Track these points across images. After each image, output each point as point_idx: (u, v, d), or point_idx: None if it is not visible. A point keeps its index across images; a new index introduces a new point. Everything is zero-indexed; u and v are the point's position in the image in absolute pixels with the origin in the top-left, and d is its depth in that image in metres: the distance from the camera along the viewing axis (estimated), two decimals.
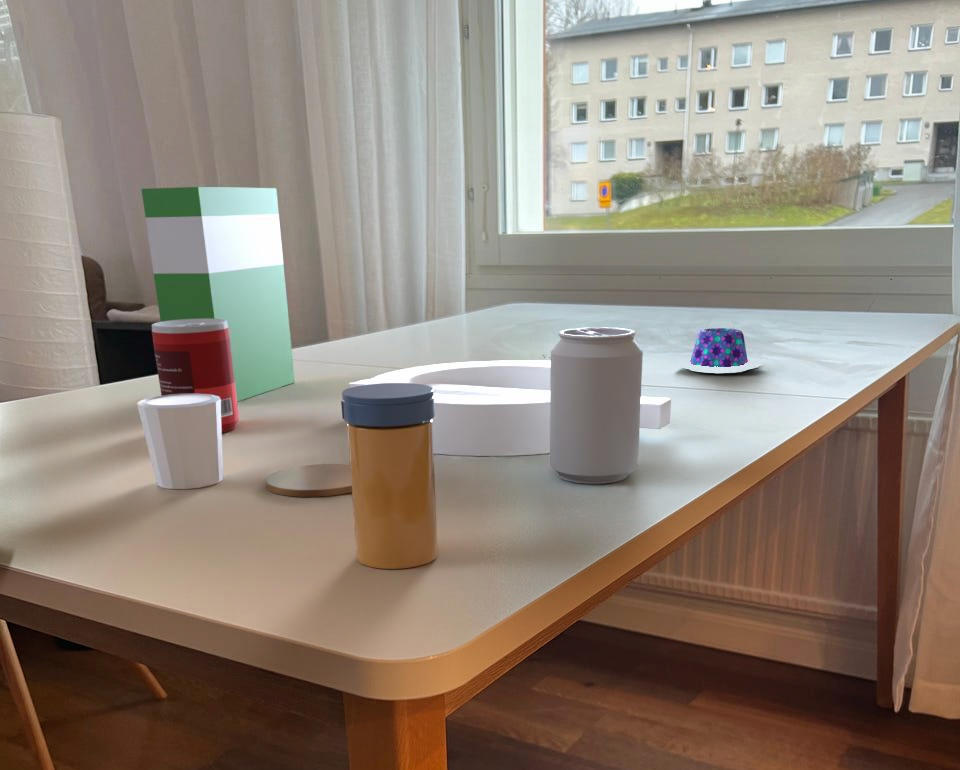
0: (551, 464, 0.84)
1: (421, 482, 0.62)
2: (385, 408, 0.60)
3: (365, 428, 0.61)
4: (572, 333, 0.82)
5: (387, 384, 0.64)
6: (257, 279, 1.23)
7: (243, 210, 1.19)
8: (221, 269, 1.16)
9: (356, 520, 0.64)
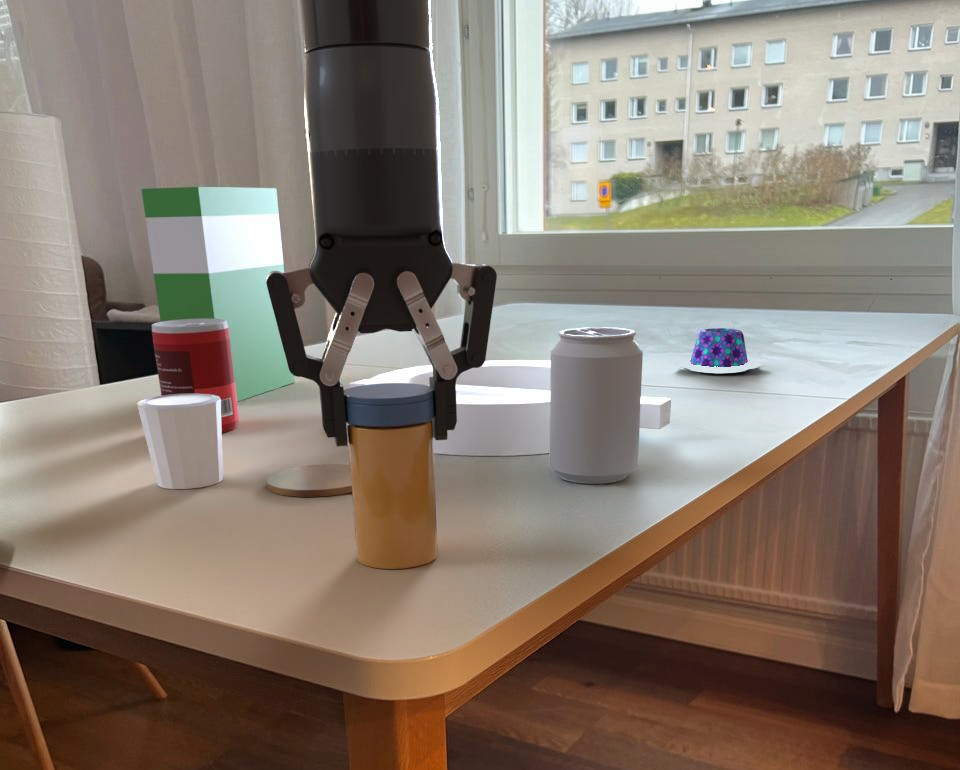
0: (551, 464, 0.84)
1: (421, 482, 0.62)
2: (385, 408, 0.60)
3: (365, 428, 0.61)
4: (572, 333, 0.82)
5: (387, 384, 0.64)
6: (257, 279, 1.23)
7: (243, 210, 1.19)
8: (221, 269, 1.16)
9: (356, 520, 0.64)
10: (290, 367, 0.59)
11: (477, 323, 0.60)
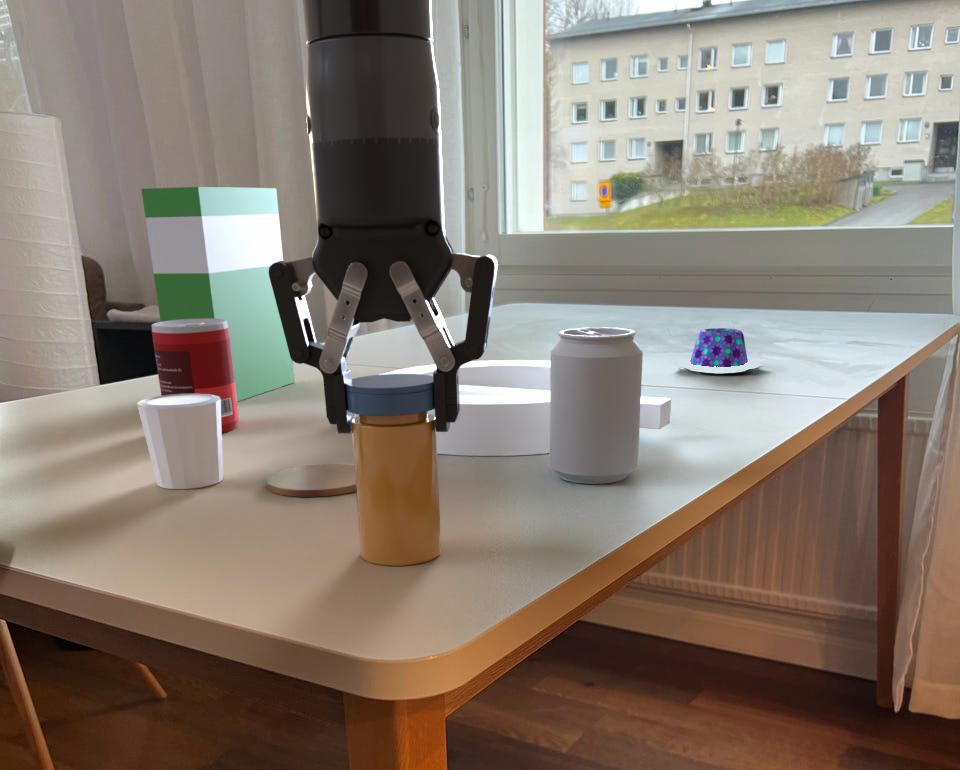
0: (551, 464, 0.84)
1: (430, 477, 0.63)
2: None
3: (377, 426, 0.61)
4: (572, 333, 0.82)
5: (381, 386, 0.60)
6: (257, 279, 1.23)
7: (243, 210, 1.19)
8: (221, 269, 1.16)
9: (365, 519, 0.64)
10: (485, 345, 0.62)
11: None
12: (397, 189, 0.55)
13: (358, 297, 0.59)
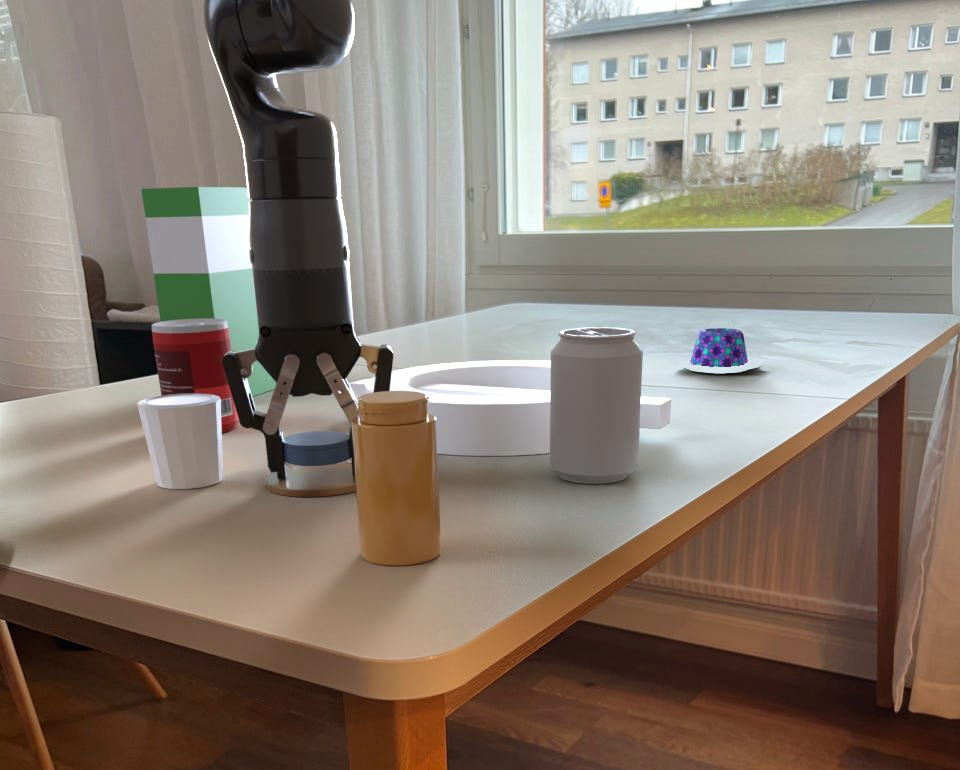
0: (551, 464, 0.84)
1: (431, 477, 0.63)
2: None
3: (378, 426, 0.61)
4: (572, 333, 0.82)
5: (312, 443, 0.81)
6: None
7: (243, 210, 1.19)
8: (221, 269, 1.16)
9: (365, 519, 0.64)
10: None
11: None
12: (323, 304, 0.76)
13: (292, 379, 0.79)
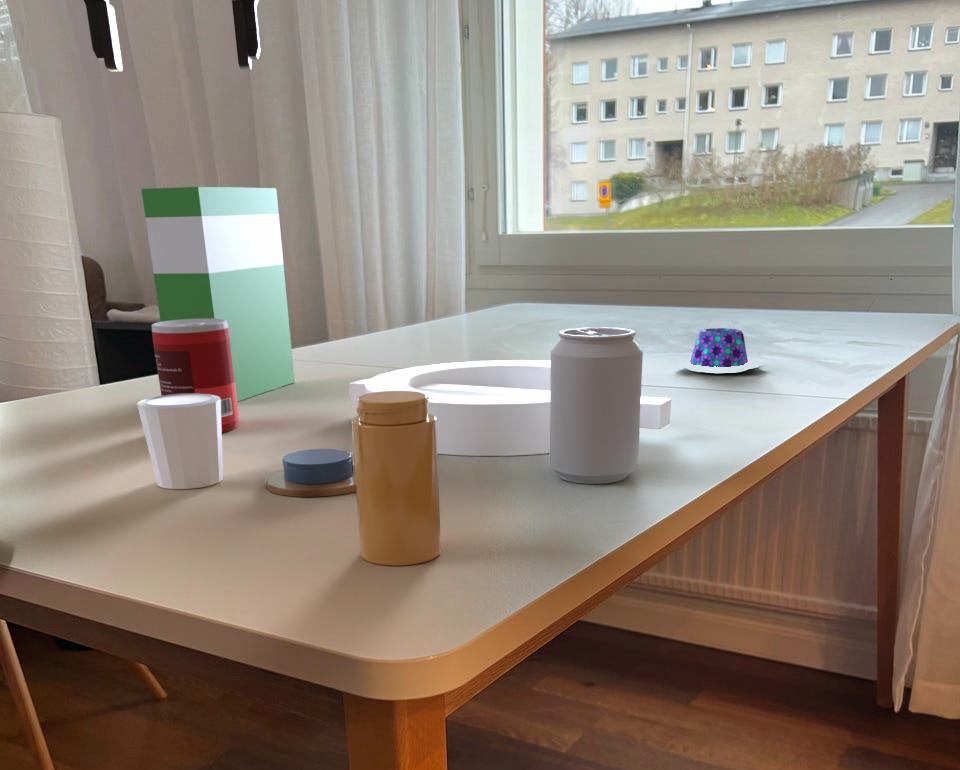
0: (551, 464, 0.84)
1: (431, 477, 0.63)
2: None
3: (378, 426, 0.61)
4: (572, 333, 0.82)
5: (313, 462, 0.82)
6: (257, 279, 1.23)
7: (243, 210, 1.19)
8: (221, 269, 1.16)
9: (365, 519, 0.64)
10: None
11: None
12: None
13: None
